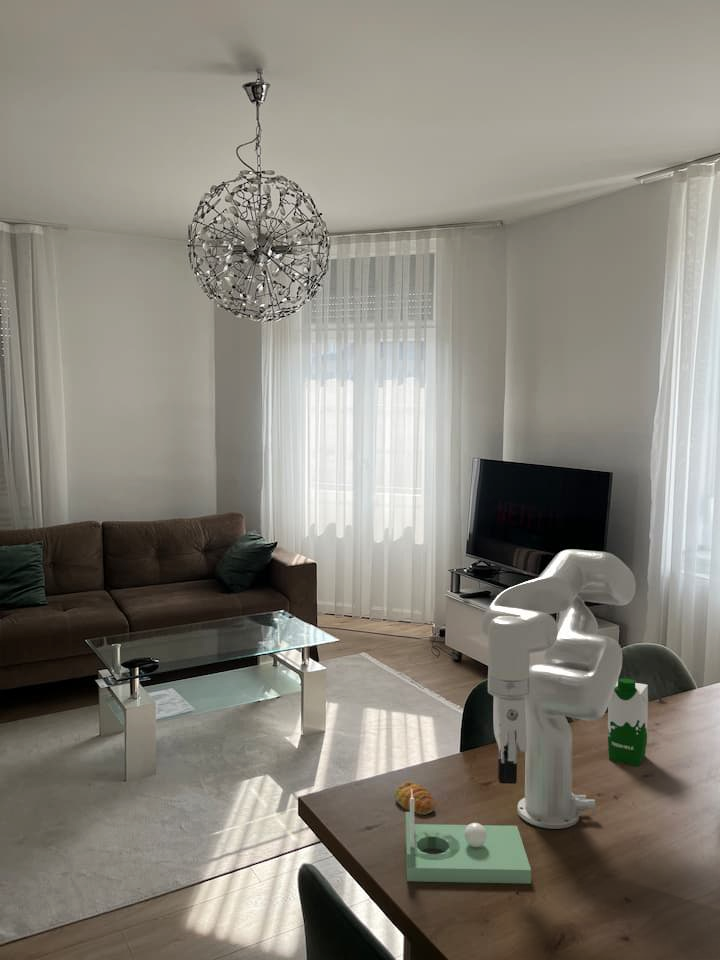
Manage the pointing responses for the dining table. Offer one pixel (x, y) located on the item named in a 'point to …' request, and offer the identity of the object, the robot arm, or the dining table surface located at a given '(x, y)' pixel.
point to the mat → (465, 855)
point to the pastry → (415, 798)
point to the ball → (475, 835)
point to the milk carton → (628, 722)
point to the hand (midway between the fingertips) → (507, 781)
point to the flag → (412, 820)
